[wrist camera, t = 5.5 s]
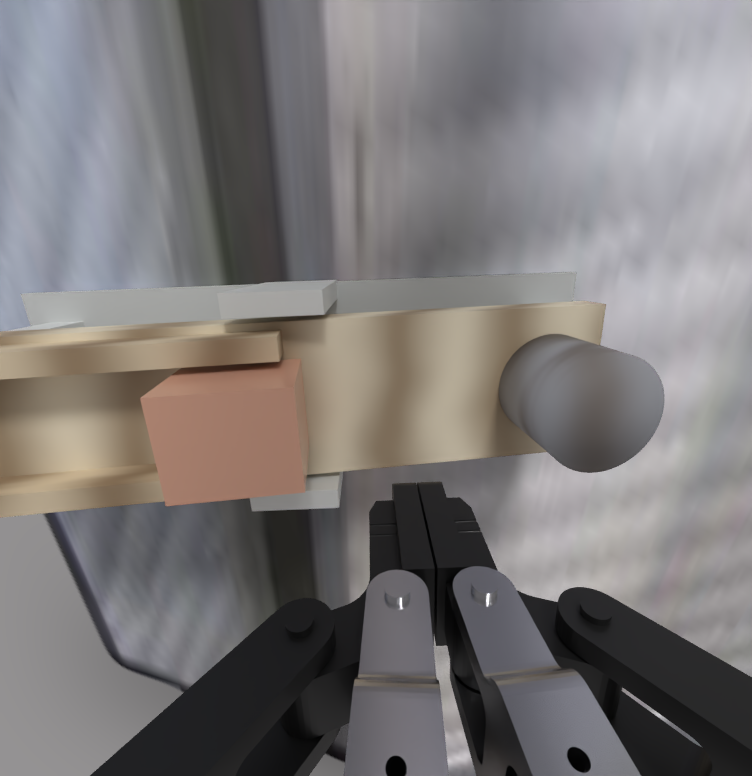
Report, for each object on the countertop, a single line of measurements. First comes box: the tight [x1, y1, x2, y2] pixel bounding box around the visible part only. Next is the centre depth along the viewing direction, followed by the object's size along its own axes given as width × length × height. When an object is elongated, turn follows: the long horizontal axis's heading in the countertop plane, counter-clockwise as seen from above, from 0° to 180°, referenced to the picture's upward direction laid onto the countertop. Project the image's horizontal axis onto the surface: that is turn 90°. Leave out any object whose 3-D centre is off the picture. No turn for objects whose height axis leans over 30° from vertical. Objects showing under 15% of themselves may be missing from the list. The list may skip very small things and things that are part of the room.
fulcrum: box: [10, 272, 576, 511], centre depth 25 cm, size 38×12×10 cm, turn 92°
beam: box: [0, 301, 664, 518], centre depth 20 cm, size 36×9×7 cm, turn 92°
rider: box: [140, 359, 310, 506], centre depth 19 cm, size 6×5×5 cm
